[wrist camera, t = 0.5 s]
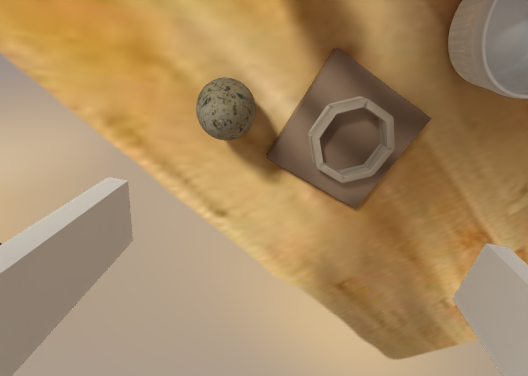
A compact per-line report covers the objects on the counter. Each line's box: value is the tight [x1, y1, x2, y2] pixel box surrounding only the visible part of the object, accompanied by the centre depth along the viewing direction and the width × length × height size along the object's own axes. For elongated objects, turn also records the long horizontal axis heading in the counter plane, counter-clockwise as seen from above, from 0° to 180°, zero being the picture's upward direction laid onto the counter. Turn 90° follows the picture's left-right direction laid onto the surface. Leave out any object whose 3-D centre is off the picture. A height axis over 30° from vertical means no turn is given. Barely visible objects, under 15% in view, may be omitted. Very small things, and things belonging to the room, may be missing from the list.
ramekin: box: [448, 0, 528, 99], centre depth 27 cm, size 13×13×7 cm
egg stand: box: [267, 48, 431, 209], centre depth 33 cm, size 14×14×4 cm
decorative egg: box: [196, 78, 256, 140], centre depth 27 cm, size 6×6×10 cm
